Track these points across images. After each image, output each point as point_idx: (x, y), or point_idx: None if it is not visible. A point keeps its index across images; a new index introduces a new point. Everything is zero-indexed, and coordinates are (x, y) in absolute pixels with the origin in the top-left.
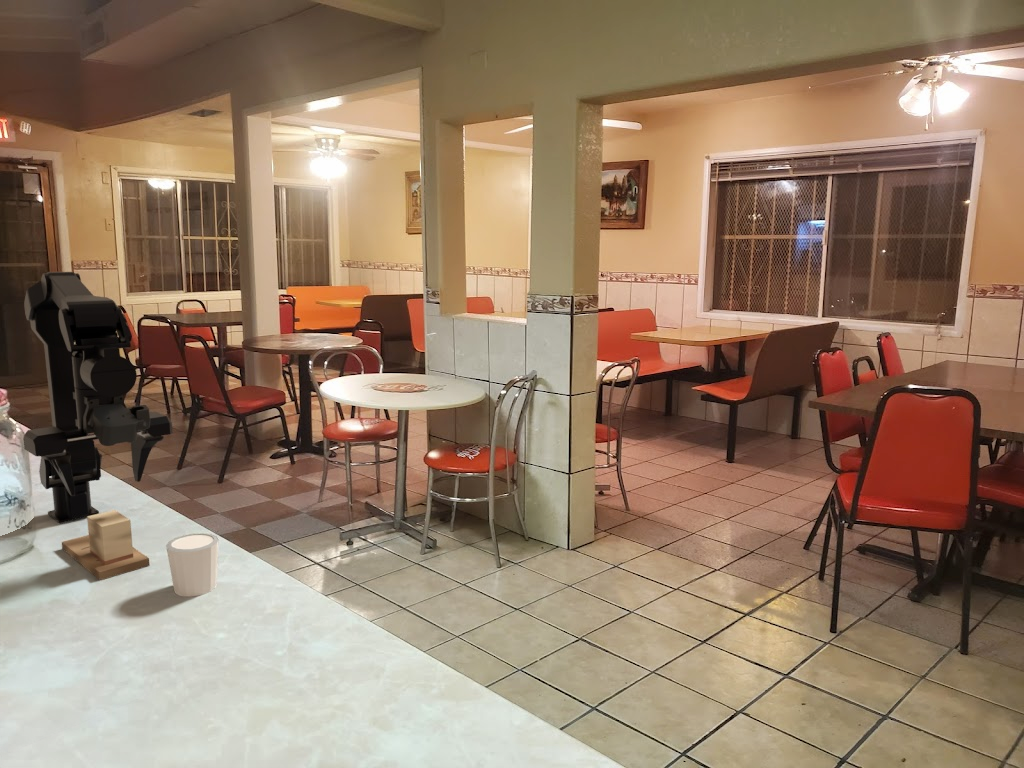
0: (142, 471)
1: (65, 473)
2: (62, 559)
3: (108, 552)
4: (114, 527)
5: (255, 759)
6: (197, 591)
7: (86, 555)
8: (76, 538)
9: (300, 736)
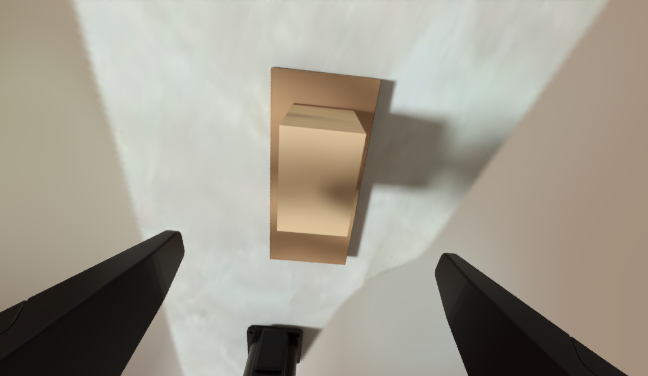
0: (120, 255)
1: (585, 357)
2: (365, 220)
3: (346, 114)
4: (329, 126)
5: None
6: None
7: None
8: (322, 261)
9: None
